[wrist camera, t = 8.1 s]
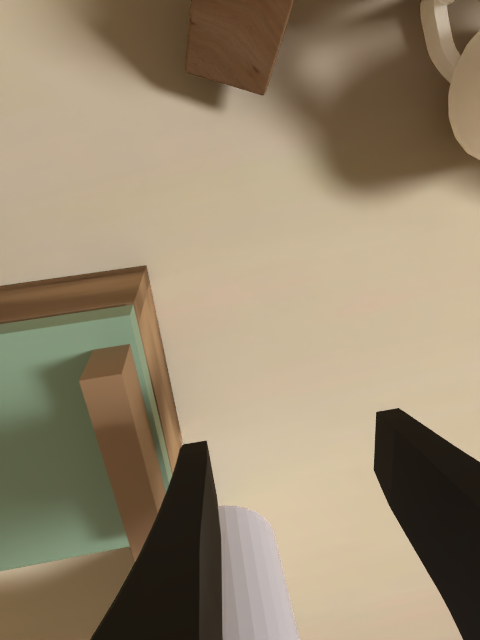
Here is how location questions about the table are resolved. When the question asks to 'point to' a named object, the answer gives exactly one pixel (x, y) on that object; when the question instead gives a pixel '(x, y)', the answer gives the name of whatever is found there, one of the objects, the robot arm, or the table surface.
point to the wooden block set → (236, 40)
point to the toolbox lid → (77, 438)
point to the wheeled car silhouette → (455, 73)
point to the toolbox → (103, 294)
